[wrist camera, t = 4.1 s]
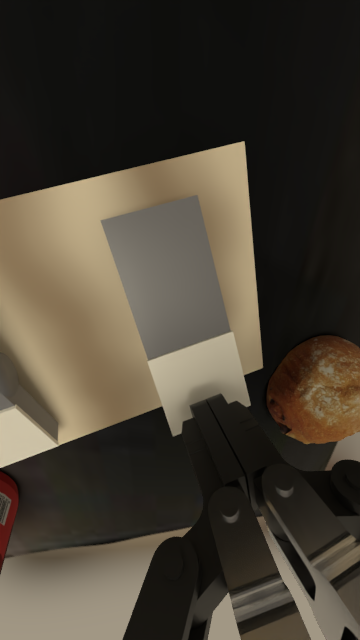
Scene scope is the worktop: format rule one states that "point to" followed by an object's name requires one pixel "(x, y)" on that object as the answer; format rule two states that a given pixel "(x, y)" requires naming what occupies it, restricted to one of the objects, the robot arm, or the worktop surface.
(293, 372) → the bread roll
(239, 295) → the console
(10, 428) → the switch
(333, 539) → the robot arm
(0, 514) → the canned food
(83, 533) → the worktop surface
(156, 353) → the switch
